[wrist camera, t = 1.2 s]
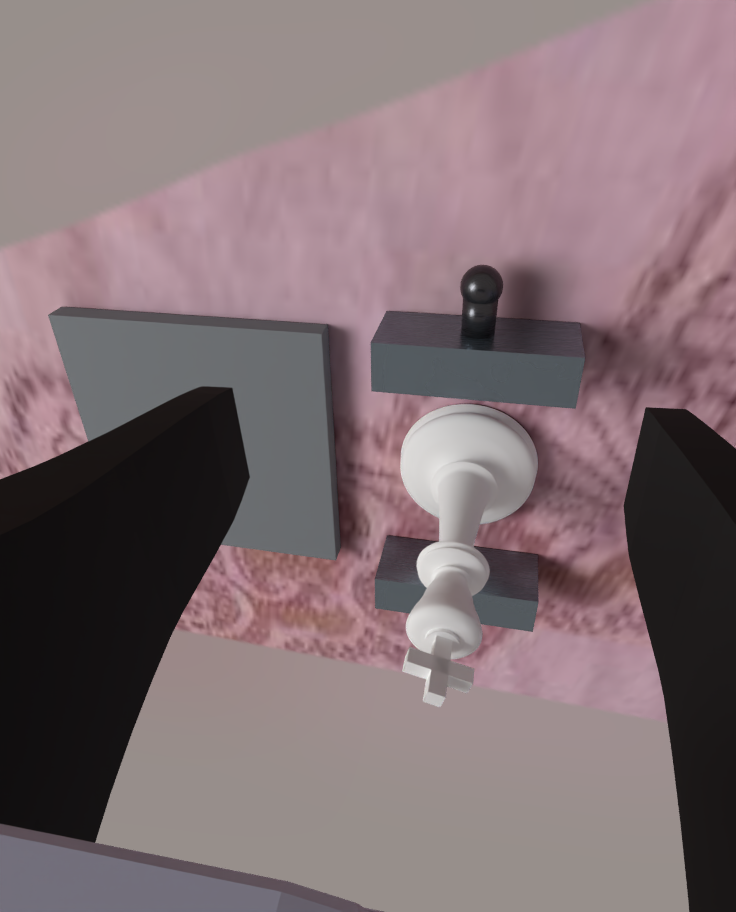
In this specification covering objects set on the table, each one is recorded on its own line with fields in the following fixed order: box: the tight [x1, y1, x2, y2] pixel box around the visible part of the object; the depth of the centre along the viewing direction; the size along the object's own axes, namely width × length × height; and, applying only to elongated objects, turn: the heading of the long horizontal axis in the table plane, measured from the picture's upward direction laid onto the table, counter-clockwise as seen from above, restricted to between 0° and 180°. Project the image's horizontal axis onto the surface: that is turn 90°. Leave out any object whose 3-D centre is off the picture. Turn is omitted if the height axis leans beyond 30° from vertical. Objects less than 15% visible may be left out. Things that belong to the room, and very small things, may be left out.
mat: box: [48, 307, 341, 560], centre depth 24 cm, size 10×10×1 cm
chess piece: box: [400, 404, 538, 707], centre depth 19 cm, size 5×5×10 cm
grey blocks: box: [371, 265, 585, 632], centre depth 21 cm, size 6×13×2 cm, turn 1°
